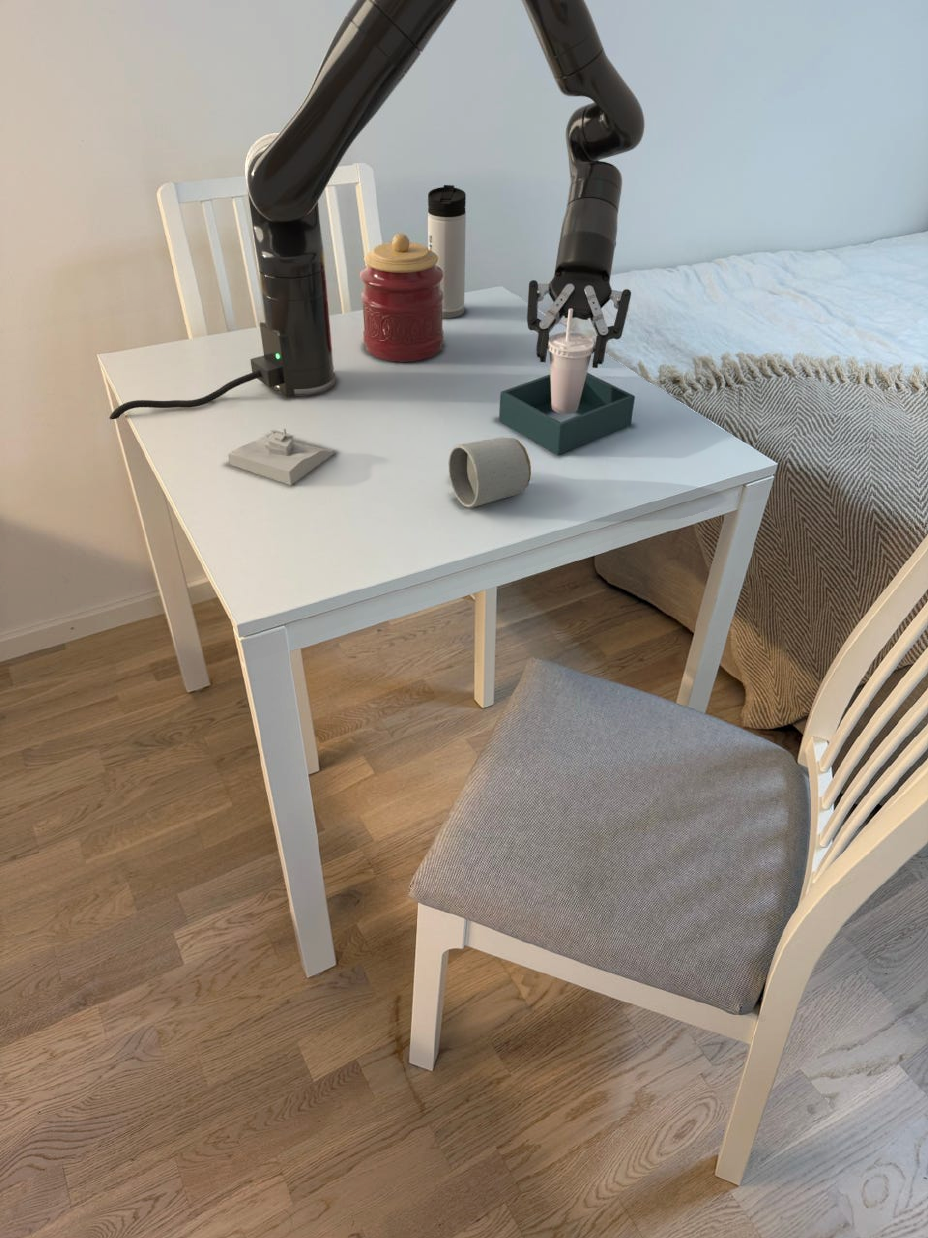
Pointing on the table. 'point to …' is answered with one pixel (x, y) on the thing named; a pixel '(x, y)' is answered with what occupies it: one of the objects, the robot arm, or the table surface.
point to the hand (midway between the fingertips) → (568, 362)
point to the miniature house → (278, 457)
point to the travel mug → (448, 244)
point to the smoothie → (568, 367)
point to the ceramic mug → (488, 470)
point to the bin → (599, 417)
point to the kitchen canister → (402, 301)
